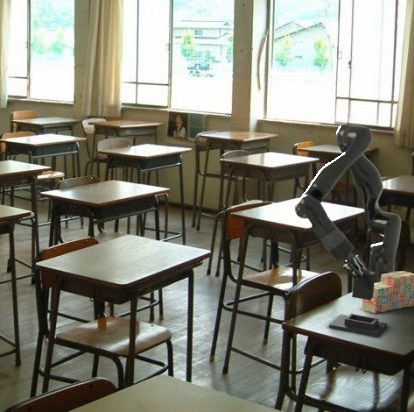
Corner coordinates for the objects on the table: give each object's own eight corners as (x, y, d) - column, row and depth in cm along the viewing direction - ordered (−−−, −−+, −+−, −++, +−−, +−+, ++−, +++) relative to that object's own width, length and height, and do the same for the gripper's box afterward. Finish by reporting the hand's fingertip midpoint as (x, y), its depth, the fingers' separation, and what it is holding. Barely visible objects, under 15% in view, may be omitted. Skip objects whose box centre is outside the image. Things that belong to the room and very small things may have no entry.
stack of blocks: (375, 313, 314) (378, 281, 311) (361, 309, 319) (364, 276, 317) (413, 305, 325) (417, 274, 322) (399, 301, 330) (403, 270, 328)
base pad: (340, 317, 309) (341, 308, 308) (386, 326, 301) (387, 317, 300) (328, 327, 298) (329, 318, 297) (377, 337, 289) (377, 328, 288)
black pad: (355, 294, 300) (357, 269, 298) (372, 297, 297) (375, 272, 295) (352, 297, 297) (354, 271, 295) (370, 300, 294) (372, 274, 292)
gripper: (340, 241, 291) (373, 282, 287) (351, 234, 303) (383, 273, 299) (322, 254, 295) (355, 295, 291) (334, 246, 307) (366, 285, 303)
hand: (369, 284), depth 295 cm, fingers closed on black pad, 4 cm apart
